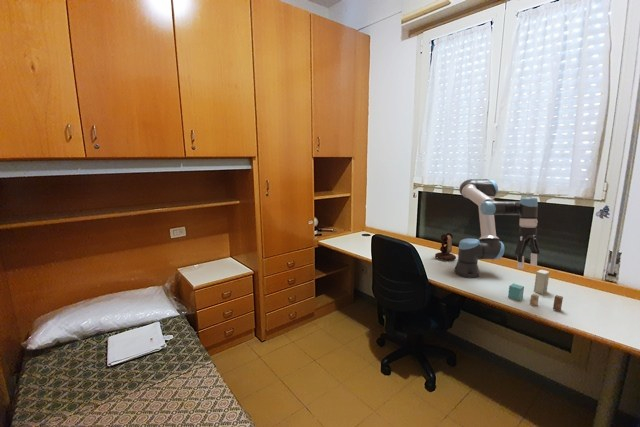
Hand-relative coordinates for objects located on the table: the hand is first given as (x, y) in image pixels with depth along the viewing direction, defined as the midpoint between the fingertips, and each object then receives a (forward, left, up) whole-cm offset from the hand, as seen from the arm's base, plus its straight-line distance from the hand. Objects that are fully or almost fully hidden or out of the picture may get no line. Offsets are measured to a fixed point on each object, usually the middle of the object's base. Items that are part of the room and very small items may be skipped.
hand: (527, 267), depth 153 cm
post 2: (+14, +2, -19) cm, 24 cm away
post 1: (+5, -1, -19) cm, 19 cm away
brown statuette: (-64, +29, -19) cm, 73 cm away
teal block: (-4, 0, -19) cm, 19 cm away
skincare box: (+1, +20, -19) cm, 28 cm away
